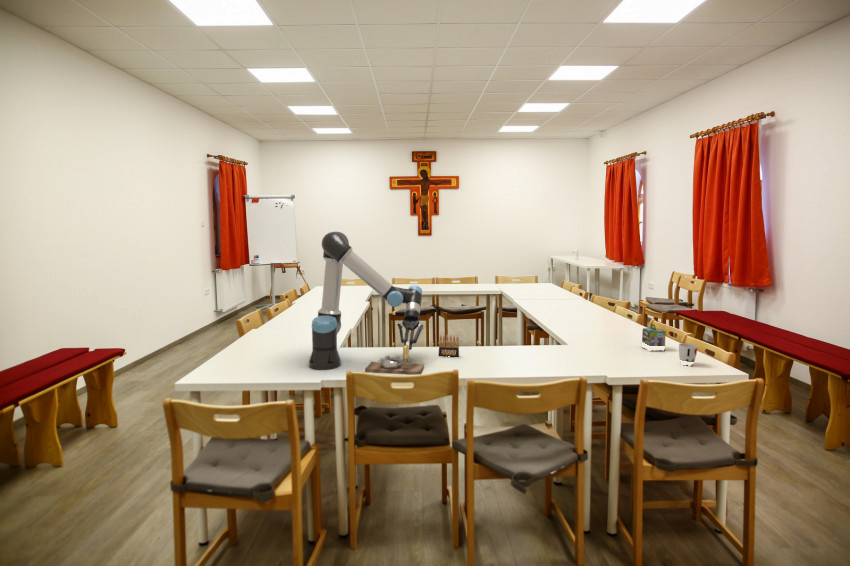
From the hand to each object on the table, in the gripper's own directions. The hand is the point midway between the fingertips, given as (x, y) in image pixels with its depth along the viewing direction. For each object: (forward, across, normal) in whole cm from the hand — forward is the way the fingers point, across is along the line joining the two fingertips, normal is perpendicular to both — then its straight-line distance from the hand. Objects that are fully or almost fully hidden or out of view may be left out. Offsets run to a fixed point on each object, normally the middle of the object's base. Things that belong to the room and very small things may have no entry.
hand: (406, 355), depth 223 cm
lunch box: (-37, -130, -49) cm, 144 cm away
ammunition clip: (-13, -18, -25) cm, 33 cm away
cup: (-16, -137, -28) cm, 141 cm away
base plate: (+5, +6, -5) cm, 9 cm away
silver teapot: (+4, +6, -4) cm, 8 cm away
